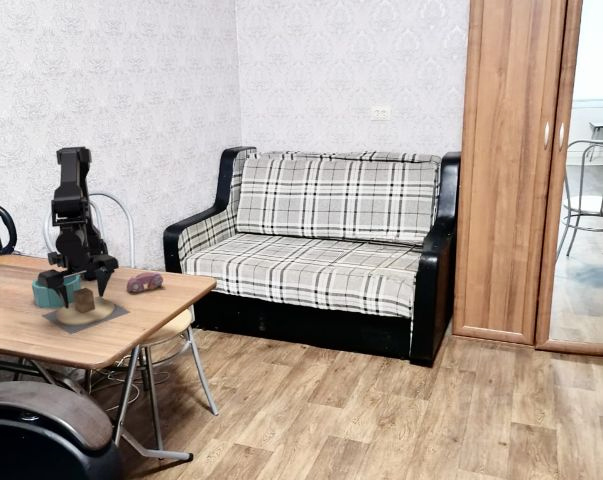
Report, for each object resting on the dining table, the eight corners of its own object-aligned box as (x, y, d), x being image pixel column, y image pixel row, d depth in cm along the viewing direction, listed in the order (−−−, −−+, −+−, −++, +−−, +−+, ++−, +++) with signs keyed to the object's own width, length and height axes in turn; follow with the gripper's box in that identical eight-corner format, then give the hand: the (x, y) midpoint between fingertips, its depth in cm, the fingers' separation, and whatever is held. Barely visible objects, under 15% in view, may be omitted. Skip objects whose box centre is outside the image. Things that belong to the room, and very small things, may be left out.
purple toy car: (129, 300, 161) (129, 283, 156) (125, 288, 164) (125, 271, 159) (164, 293, 165) (165, 276, 160) (160, 282, 168) (160, 264, 163)
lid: (97, 298, 157) (94, 277, 156) (125, 312, 148) (122, 289, 146) (46, 315, 148) (42, 292, 146) (72, 331, 139) (68, 307, 137)
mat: (99, 298, 159) (99, 296, 159) (130, 313, 148) (130, 311, 148) (41, 317, 148) (41, 315, 148) (70, 335, 137) (70, 333, 137)
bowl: (70, 288, 166) (67, 269, 164) (90, 299, 158) (87, 278, 156) (28, 301, 158) (24, 281, 156) (47, 313, 150) (44, 291, 148)
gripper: (94, 229, 154) (102, 284, 159) (23, 246, 141) (33, 305, 146) (116, 237, 147) (123, 294, 152) (43, 256, 134) (53, 317, 139)
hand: (84, 302), depth 147 cm, fingers open, 9 cm apart
